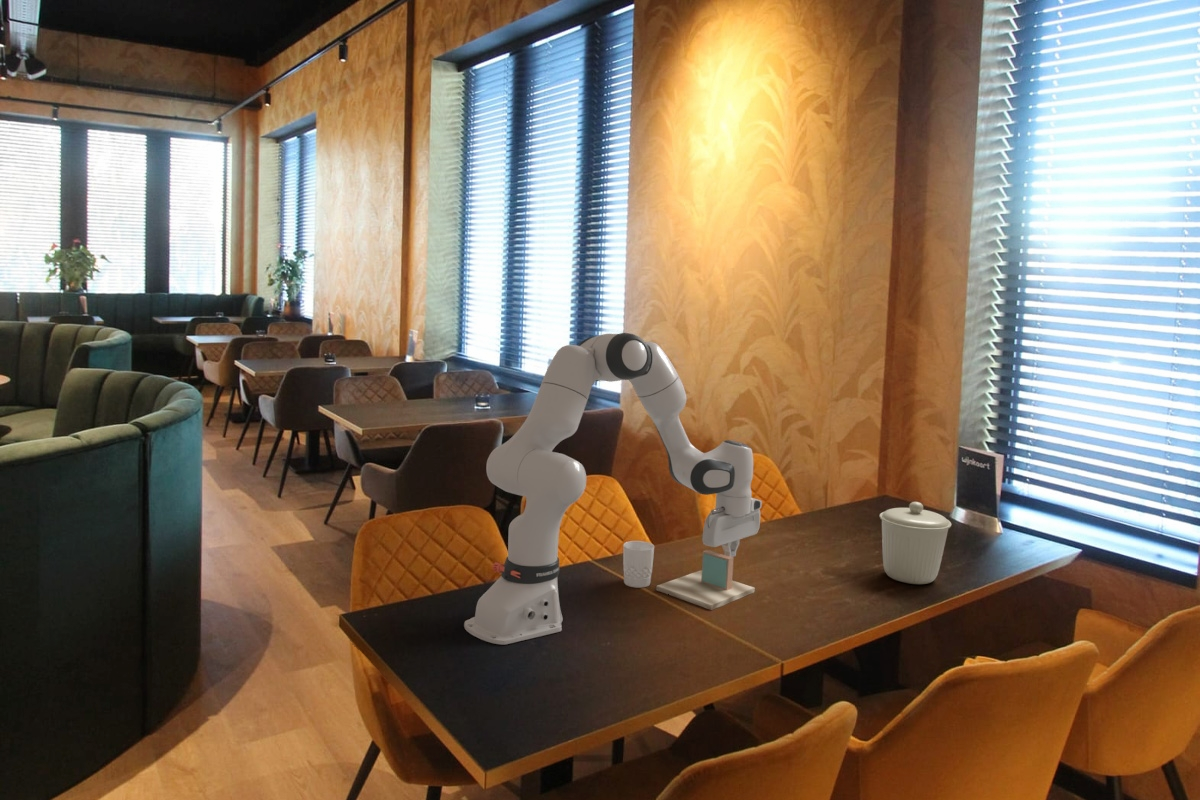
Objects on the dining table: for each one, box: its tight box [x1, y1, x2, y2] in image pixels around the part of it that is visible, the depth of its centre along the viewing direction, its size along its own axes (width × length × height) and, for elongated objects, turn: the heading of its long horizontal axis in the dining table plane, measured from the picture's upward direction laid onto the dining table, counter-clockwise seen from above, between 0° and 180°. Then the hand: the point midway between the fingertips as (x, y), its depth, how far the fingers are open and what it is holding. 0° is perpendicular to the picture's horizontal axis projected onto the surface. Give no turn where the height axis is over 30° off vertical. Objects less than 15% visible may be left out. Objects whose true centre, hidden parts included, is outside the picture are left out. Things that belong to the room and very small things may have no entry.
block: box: [701, 549, 735, 590], centre depth 214 cm, size 2×8×8 cm, turn 46°
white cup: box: [622, 540, 655, 589], centre depth 216 cm, size 8×8×10 cm
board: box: [656, 569, 756, 611], centre depth 213 cm, size 18×17×1 cm
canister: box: [879, 501, 952, 585], centre depth 228 cm, size 18×18×21 cm
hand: (729, 556), depth 217 cm, fingers closed
